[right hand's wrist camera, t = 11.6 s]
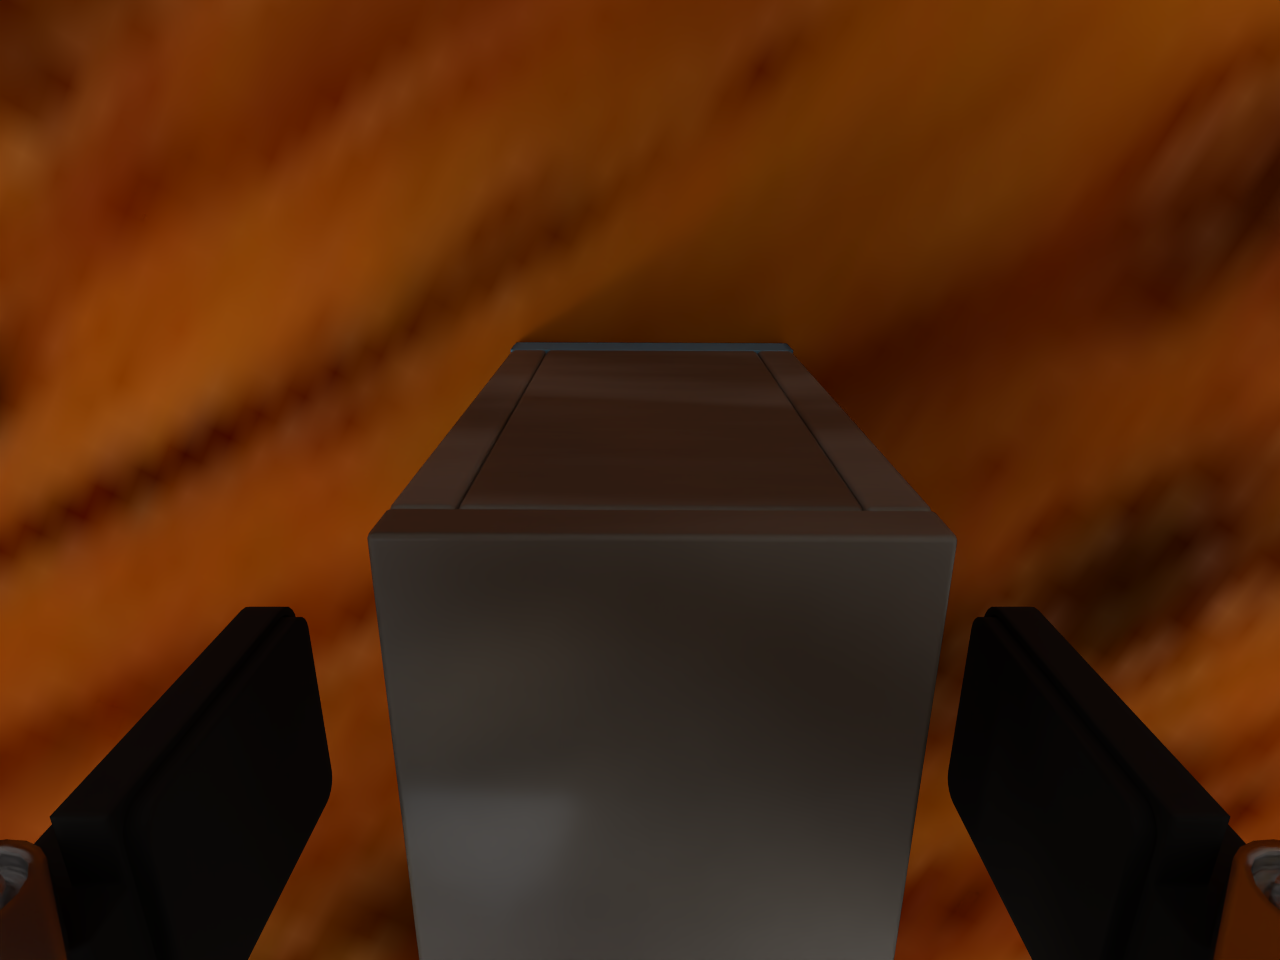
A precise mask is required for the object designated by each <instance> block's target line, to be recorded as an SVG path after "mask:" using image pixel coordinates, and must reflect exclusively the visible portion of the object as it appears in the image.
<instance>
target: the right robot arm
mask: <svg viewBox="0 0 1280 960" xmlns="http://www.w3.org/2000/svg"><path fill="white" fill-rule="evenodd" d="M331 786H332V770H331V764H330V758H329V752H328V745H327V739H326V733H325V727H324V721H323V715H322V709H321V702H320V696H319V690H318V684H317V678H316V672H315V666H314V660H313V653H312V647H311V641H310V635H309V629H308V625H307V622H306V620H305V619H304V618H303V617H295V614H294V612H293V610H292V609H291V608H289V607H245V608H244V609H243V610H241V611H240V612H239V614H238V615H237V616H236V617H235V618H234V619H233V620H232V621H231V622H230V623H229V624H228V625H227V626H226V628H225V629H224V630H223V631H222V632H221V633H220V634H219V635H218V636H217V637H216V638H215V639H214V640H213V642H212V643H211V644H210V645H209V646H208V647H207V648H206V649H205V650H204V651H203V652H202V653H201V654H200V656H199V657H198V658H197V659H196V660H195V661H194V662H193V663H192V664H191V665H190V666H189V667H188V668H187V670H186V671H185V672H184V673H183V674H182V675H181V676H180V677H179V678H178V679H177V680H176V681H175V682H174V684H173V685H172V686H171V687H170V688H169V689H168V690H167V691H166V692H165V693H164V694H163V695H162V696H161V698H160V699H159V700H158V701H157V702H156V703H155V704H154V705H153V706H152V707H151V708H150V709H149V710H148V711H147V713H146V714H145V715H144V716H143V717H142V718H141V719H140V720H139V721H138V722H137V723H136V724H135V725H134V727H133V728H132V729H131V730H130V731H129V732H128V733H127V734H126V735H125V736H124V737H123V738H122V739H121V741H120V742H119V743H118V744H117V745H116V746H115V747H114V748H113V749H112V750H111V751H110V752H109V753H108V755H107V756H106V757H105V758H104V759H103V760H102V761H101V762H100V763H99V764H98V765H97V766H96V767H95V769H94V770H93V771H92V772H91V773H90V774H89V775H88V776H87V777H86V778H85V779H84V780H83V781H82V783H81V784H80V785H79V786H78V787H77V788H76V789H75V790H74V791H73V792H72V793H71V794H70V795H69V797H68V798H67V799H66V800H65V801H64V802H63V803H62V804H61V805H60V806H59V807H58V808H57V809H56V811H55V812H54V813H53V814H52V815H51V816H50V819H51V822H52V825H51V826H50V827H49V828H48V829H47V830H46V831H45V833H44V834H43V835H42V836H41V837H40V838H39V839H38V840H37V841H36V842H35V843H34V844H32V843H30V842H28V841H23V840H8V839H6V840H0V960H248V958H249V956H250V954H251V952H252V950H253V948H254V946H255V944H256V942H257V940H258V938H259V936H260V934H261V932H262V930H263V928H264V926H265V924H266V922H267V921H268V919H269V917H270V915H271V913H272V911H273V909H274V907H275V905H276V903H277V901H278V899H279V897H280V895H281V893H282V891H283V889H284V887H285V885H286V883H287V881H288V879H289V877H290V875H291V873H292V871H293V869H294V867H295V865H296V863H297V861H298V859H299V857H300V855H301V853H302V851H303V849H304V847H305V845H306V843H307V841H308V839H309V837H310V835H311V833H312V831H313V829H314V827H315V825H316V823H317V821H318V819H319V817H320V815H321V813H322V811H323V809H324V807H325V805H326V803H327V801H328V799H329V796H330V792H331ZM948 786H949V792H950V796H951V799H952V801H953V803H954V805H955V807H956V809H957V811H958V813H959V815H960V817H961V819H962V821H963V823H964V825H965V827H966V829H967V831H968V833H969V835H970V837H971V839H972V841H973V843H974V845H975V847H976V849H977V851H978V853H979V855H980V857H981V859H982V861H983V863H984V865H985V867H986V869H987V871H988V873H989V875H990V877H991V879H992V881H993V883H994V885H995V887H996V889H997V891H998V893H999V895H1000V897H1001V899H1002V901H1003V903H1004V905H1005V907H1006V909H1007V911H1008V913H1009V915H1010V917H1011V919H1012V921H1013V922H1014V924H1015V926H1016V928H1017V930H1018V932H1019V934H1020V936H1021V938H1022V940H1023V942H1024V944H1025V946H1026V948H1027V950H1028V952H1029V954H1030V956H1031V958H1032V960H1280V840H1274V839H1272V840H1257V841H1252V842H1250V843H1248V844H1246V843H1245V842H1244V841H1243V840H1242V839H1241V838H1240V837H1239V836H1238V835H1237V834H1236V833H1235V831H1234V830H1233V829H1232V828H1231V827H1230V826H1229V825H1228V822H1229V819H1230V816H1229V815H1228V814H1227V813H1226V812H1225V811H1224V809H1223V808H1222V807H1221V806H1220V805H1219V804H1218V803H1217V802H1216V801H1215V800H1214V799H1213V798H1212V797H1211V795H1210V794H1209V793H1208V792H1207V791H1206V790H1205V789H1204V788H1203V787H1202V786H1201V785H1200V784H1199V783H1198V781H1197V780H1196V779H1195V778H1194V777H1193V776H1192V775H1191V774H1190V773H1189V772H1188V771H1187V770H1186V769H1185V767H1184V766H1183V765H1182V764H1181V763H1180V762H1179V761H1178V760H1177V759H1176V758H1175V757H1174V756H1173V755H1172V753H1171V752H1170V751H1169V750H1168V749H1167V748H1166V747H1165V746H1164V745H1163V744H1162V743H1161V742H1160V741H1159V739H1158V738H1157V737H1156V736H1155V735H1154V734H1153V733H1152V732H1151V731H1150V730H1149V729H1148V728H1147V727H1146V725H1145V724H1144V723H1143V722H1142V721H1141V720H1140V719H1139V718H1138V717H1137V716H1136V715H1135V714H1134V713H1133V712H1132V710H1131V709H1130V708H1129V707H1128V706H1127V705H1126V704H1125V703H1124V702H1123V701H1122V700H1121V699H1120V698H1119V696H1118V695H1117V694H1116V693H1115V692H1114V691H1113V690H1112V689H1111V688H1110V687H1109V686H1108V685H1107V684H1106V682H1105V681H1104V680H1103V679H1102V678H1101V677H1100V676H1099V675H1098V674H1097V673H1096V672H1095V671H1094V670H1093V668H1092V667H1091V666H1090V665H1089V664H1088V663H1087V662H1086V661H1085V660H1084V659H1083V658H1082V657H1081V656H1080V654H1079V653H1078V652H1077V651H1076V650H1075V649H1074V648H1073V647H1072V646H1071V645H1070V644H1069V643H1068V642H1067V640H1066V639H1065V638H1064V637H1063V636H1062V635H1061V634H1060V633H1059V632H1058V631H1057V630H1056V629H1055V628H1054V626H1053V625H1052V624H1051V623H1050V622H1049V621H1048V620H1047V619H1046V618H1045V617H1044V616H1043V615H1042V614H1041V612H1040V611H1039V610H1037V609H1036V608H1035V607H991V608H989V609H988V610H987V612H986V614H985V617H977V618H976V619H975V620H974V622H973V625H972V629H971V635H970V641H969V647H968V653H967V660H966V666H965V672H964V678H963V684H962V690H961V696H960V702H959V709H958V715H957V721H956V727H955V733H954V739H953V745H952V752H951V758H950V764H949V770H948Z"/></svg>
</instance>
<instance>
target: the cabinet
mask: <svg viewBox="0 0 1280 960" xmlns="http://www.w3.org/2000/svg"><path fill="white" fill-rule="evenodd" d="M956 544H957V539H956V536H955V535H954V533H953V532H952V531H951V530H950V529H949V528H948V527H947V526H946V524H945V523H944V522H943V521H942V520H941V519H940V518H939V517H938V515H937V514H936V513H934V512H932V511H931V509H930V507H929V506H928V505H927V504H926V503H925V502H924V500H923V499H922V498H921V497H920V496H919V495H918V494H917V493H916V491H915V490H914V489H913V488H912V487H911V486H910V485H909V484H908V483H907V481H906V480H905V479H904V478H903V477H902V476H901V475H900V474H899V472H898V471H897V470H896V469H895V468H894V467H893V466H892V465H891V463H890V462H889V461H888V460H887V459H886V458H885V457H884V456H883V454H882V453H881V452H880V451H879V450H878V449H877V448H876V447H875V445H874V444H873V443H872V442H871V441H870V440H869V439H868V438H867V436H866V435H865V434H864V433H863V432H862V431H861V430H860V429H859V427H858V426H857V425H856V424H855V423H854V422H853V421H852V420H851V418H850V417H849V416H848V415H847V414H846V413H845V412H844V411H843V409H842V408H841V407H840V406H839V405H838V404H837V403H836V402H835V400H834V399H833V398H832V397H831V396H830V395H829V394H828V393H827V391H826V390H825V389H824V388H823V387H822V386H821V385H820V384H819V382H818V381H817V380H816V379H815V378H814V377H813V376H812V375H811V373H810V372H809V371H808V370H807V369H806V368H805V367H804V366H803V365H802V363H801V362H800V361H799V360H798V359H797V358H796V357H795V356H794V354H793V350H792V349H791V348H790V347H789V346H788V345H787V344H786V343H554V342H517V343H516V344H515V345H514V346H513V347H512V349H511V354H510V355H509V356H508V357H507V359H506V360H505V361H504V362H503V364H502V365H501V366H500V368H499V369H498V370H497V371H496V373H495V374H494V375H493V377H492V378H491V379H490V380H489V382H488V383H487V384H486V385H485V387H484V388H483V389H482V391H481V392H480V393H479V394H478V396H477V397H476V398H475V400H474V401H473V402H472V403H471V405H470V406H469V407H468V408H467V410H466V411H465V412H464V414H463V415H462V416H461V417H460V419H459V420H458V421H457V423H456V424H455V425H454V426H453V428H452V429H451V430H450V431H449V433H448V434H447V435H446V437H445V438H444V439H443V440H442V442H441V443H440V444H439V446H438V447H437V448H436V449H435V451H434V452H433V453H432V454H431V456H430V457H429V458H428V460H427V461H426V462H425V463H424V465H423V466H422V467H421V469H420V470H419V471H418V472H417V474H416V475H415V476H414V478H413V479H412V480H411V481H410V483H409V484H408V485H407V486H406V488H405V489H404V490H403V492H402V493H401V494H400V495H399V497H398V498H397V499H396V501H395V502H394V503H393V504H392V506H391V509H390V510H387V511H386V512H385V514H384V515H383V516H382V517H381V519H380V520H379V521H378V522H377V524H376V525H375V526H374V528H373V529H372V530H371V531H370V533H369V535H368V546H369V554H370V562H371V570H372V579H373V587H374V595H375V603H376V611H377V619H378V627H379V635H380V644H381V652H382V660H383V668H384V676H385V684H386V692H387V700H388V709H389V717H390V725H391V733H392V741H393V749H394V757H395V765H396V774H397V782H398V790H399V798H400V806H401V814H402V822H403V830H404V839H405V847H406V855H407V863H408V871H409V879H410V887H411V895H412V904H413V912H414V920H415V928H416V936H417V944H418V952H419V960H894V954H895V947H896V941H897V934H898V927H899V921H900V914H901V908H902V901H903V894H904V888H905V881H906V875H907V868H908V861H909V855H910V848H911V842H912V835H913V828H914V822H915V815H916V809H917V802H918V795H919V789H920V782H921V776H922V769H923V762H924V756H925V749H926V742H927V736H928V729H929V723H930V716H931V709H932V703H933V696H934V690H935V683H936V676H937V670H938V663H939V657H940V650H941V643H942V637H943V630H944V624H945V617H946V610H947V604H948V597H949V591H950V584H951V577H952V571H953V564H954V557H955V551H956Z"/></svg>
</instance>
